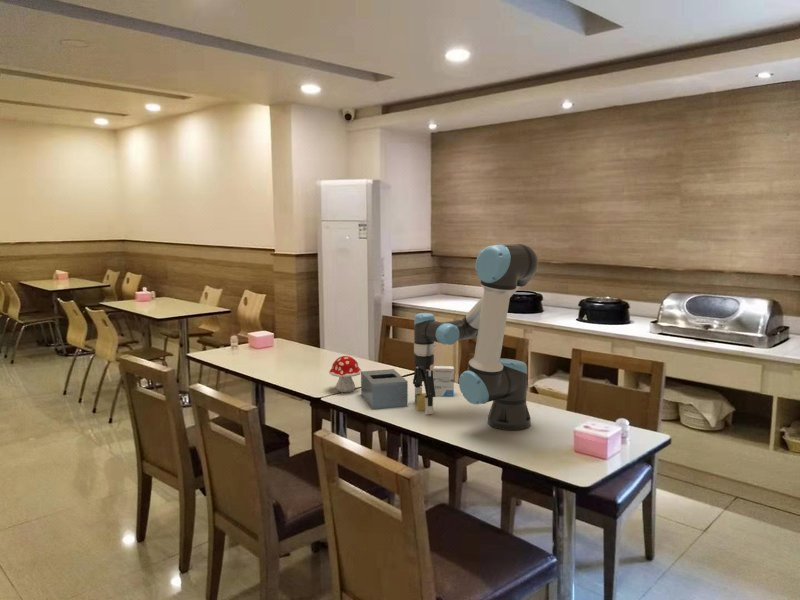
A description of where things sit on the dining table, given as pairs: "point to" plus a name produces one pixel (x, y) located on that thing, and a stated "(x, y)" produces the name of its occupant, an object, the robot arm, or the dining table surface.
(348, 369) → the decorative mushroom
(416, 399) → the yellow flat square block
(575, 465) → the dining table surface
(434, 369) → the ink box
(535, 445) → the dining table surface
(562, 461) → the dining table surface
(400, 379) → the coin box
